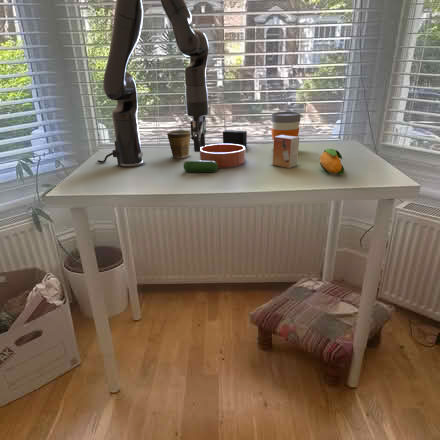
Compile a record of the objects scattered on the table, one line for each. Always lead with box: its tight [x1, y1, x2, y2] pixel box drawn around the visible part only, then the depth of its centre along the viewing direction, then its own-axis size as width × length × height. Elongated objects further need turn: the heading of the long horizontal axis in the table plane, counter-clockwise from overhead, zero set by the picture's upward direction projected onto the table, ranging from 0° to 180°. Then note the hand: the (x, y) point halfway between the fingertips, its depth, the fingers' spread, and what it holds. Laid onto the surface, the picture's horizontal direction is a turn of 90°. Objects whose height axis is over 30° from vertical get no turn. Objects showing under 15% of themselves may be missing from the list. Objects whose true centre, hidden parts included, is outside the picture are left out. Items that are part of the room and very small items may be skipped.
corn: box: [319, 148, 345, 176], centre depth 141 cm, size 7×8×20 cm
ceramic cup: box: [166, 129, 191, 159], centre depth 171 cm, size 13×10×10 cm
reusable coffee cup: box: [270, 111, 302, 144], centre depth 173 cm, size 13×13×15 cm
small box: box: [272, 135, 300, 169], centre depth 151 cm, size 8×6×10 cm
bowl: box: [199, 143, 246, 169], centre depth 160 cm, size 18×18×6 cm
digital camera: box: [222, 129, 248, 148], centre depth 185 cm, size 10×5×7 cm, turn 66°
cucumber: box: [182, 160, 219, 173], centre depth 149 cm, size 13×4×4 cm, turn 81°
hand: (199, 149), depth 145 cm, fingers open, 8 cm apart
